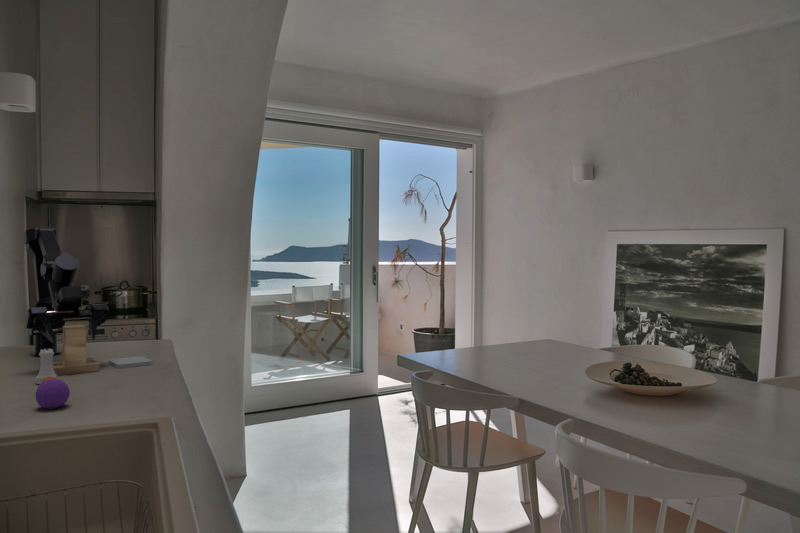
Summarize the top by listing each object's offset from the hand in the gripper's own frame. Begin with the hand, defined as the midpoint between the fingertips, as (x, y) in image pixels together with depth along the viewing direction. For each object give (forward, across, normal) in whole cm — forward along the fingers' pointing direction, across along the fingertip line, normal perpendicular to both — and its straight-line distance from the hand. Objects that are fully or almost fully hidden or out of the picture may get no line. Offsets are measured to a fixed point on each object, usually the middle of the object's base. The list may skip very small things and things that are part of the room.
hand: (74, 340), depth 149 cm
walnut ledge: (+4, 0, +8) cm, 9 cm away
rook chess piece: (+12, -8, 0) cm, 14 cm away
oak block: (+4, 0, +5) cm, 6 cm away
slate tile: (+4, +15, +8) cm, 17 cm away
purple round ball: (+25, -11, -12) cm, 30 cm away
